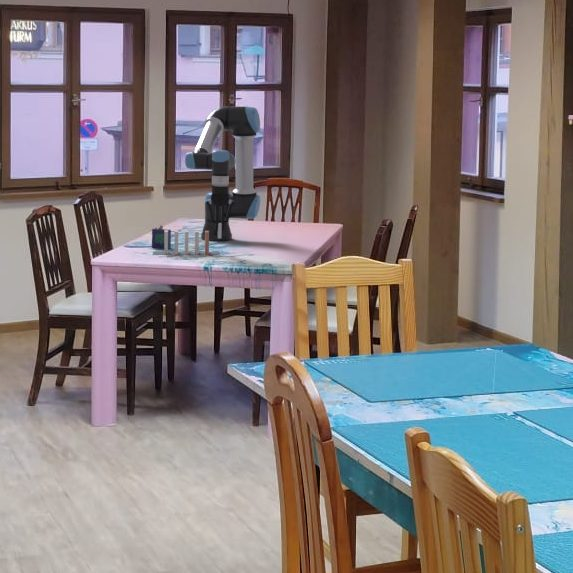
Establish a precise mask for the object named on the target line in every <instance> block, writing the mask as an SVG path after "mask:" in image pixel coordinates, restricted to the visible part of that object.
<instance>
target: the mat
mask: <svg viewBox="0 0 573 573" xmlns="http://www.w3.org/2000/svg"><path fill="white" fill-rule="evenodd" d="M152 256H221V253H220V252H219V251H209V255H208V254H205V251H199V254H195V251H188V254H185V251H178V254H175V253H174V251H168V254H164V251H152Z"/></svg>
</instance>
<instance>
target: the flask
mask: <svg viewBox="0 0 573 573" xmlns="http://www.w3.org/2000/svg"><path fill="white" fill-rule="evenodd" d="M164 230H168V250H170V249H171V248H172V230H171V229H166V228H164V225H159V227H153V228H152V229H151V248H154V249H164Z"/></svg>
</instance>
